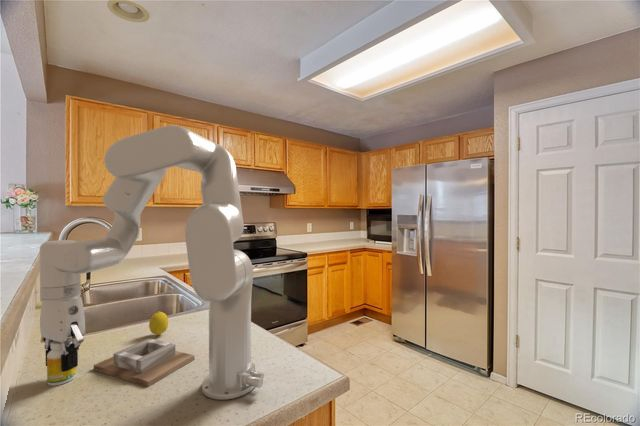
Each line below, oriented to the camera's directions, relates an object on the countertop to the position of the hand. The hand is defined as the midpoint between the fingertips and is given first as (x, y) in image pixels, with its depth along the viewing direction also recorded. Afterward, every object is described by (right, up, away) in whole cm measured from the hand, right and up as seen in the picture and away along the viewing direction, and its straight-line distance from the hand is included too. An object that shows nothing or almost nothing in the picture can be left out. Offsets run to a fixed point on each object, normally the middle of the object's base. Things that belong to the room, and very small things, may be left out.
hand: (61, 365), depth 74 cm
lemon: (+10, -3, +26) cm, 28 cm away
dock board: (+16, -3, +7) cm, 18 cm away
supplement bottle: (0, -4, 0) cm, 4 cm away
